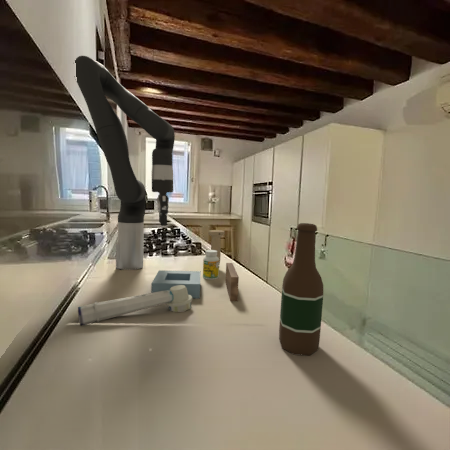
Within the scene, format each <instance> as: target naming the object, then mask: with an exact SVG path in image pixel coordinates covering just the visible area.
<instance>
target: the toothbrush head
mask: <svg viewBox="0 0 450 450" xmlns="http://www.w3.org/2000/svg"><path fill="white" fill-rule="evenodd" d="M192 301H193V298H192V296H191V295H188V291H187V288H186V287H185V286H184V285H177V286H173V287H171V288H170V290H165V291H159V292H154V293H151V292H150V293H149V292H148V293H143V294H138V295H132V296H127V297H121V298H116V299H111V300H110V299H109V300H104V301H96V300H95V301H94V302H93V303H90V304H86V305H81V306H78V307H77V313H78V321H79V325H80V326H84V325H88V324H91V323H95V322H97V323H100V321H105V320H109V319H113V318H116V317H120V316H123V315H124V316H125V315H128V314H131V313H135V312H140V311H142V310H146V309H150V308H155V307H157V306H161V305H165V304H166V306H167V307H168V310H169V311H171V312H176V313H178V312H179V313H182V312H186V311H188V310H191V308H192Z"/></svg>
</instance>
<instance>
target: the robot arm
mask: <svg viewBox="0 0 450 450" xmlns="http://www.w3.org/2000/svg"><path fill="white" fill-rule="evenodd" d="M75 59H76V60H75ZM75 59H74V61H75V63H76V77H77V81H76V83H77V85H78V88H79V90H80V92H81V94H82V96H83V99H84V101H85V104H86V106H87V109H88V112H89V114H90V117H91V121H92V124H93V126H94V130H95V133H96V136H97V139H98V142H99V144H100V146H101V149H102V152H103V155H104V157H105V159H106V160H105V161H106V162H107V164H108V167H109V170H110V174H111V179H112V182H113V183H112V184H113V187H114V192H115V194H116V197H117V198H118V200H119V201H120V210H119V212H118V214H117V242H115V269H118V270H123V271H124V270H128V271H129V270H130V271H131V270H139V269H142V268H143V267H144V238H145V237H144V232H145V231H144V228H145V227H144V226H145V222H144V221H145V216H146V215H145V214H146V199H147V197H146V196H147V195H146V194H147V192H146V187H145V185H144V184H143V182H142V181H140V180H138V179H137V177H136V174H135V172H134V170H133V167H132V164H131V161H130V152H129V144H128V139H127V135H126V133H125V129H124V126H123V124H122V121H121V120H120V118H119V116H118V114H117V112H116V111H115V110H114V108H113V107H112V104H110V102H109V101H108V99H110V101H113V102H114V103H115V104H116V105H117V106H118V108H119V109H120V111H122V112H123V113H124V114H125V115H126V116H127V117H128V118H129V119H130V120H132V121H133V122H135V123H136V124H137V125H138V126H140V127H141V128H142V129H143V130H144V131H145V132H146V133H147V134H148V135H149V136H150V137H152V138H153V139H155V148H154V149H152V153H151V162H152V163H151V165H152V166H151V192H152V193H158V195H157V197H156V202H157V211H158V222H159V224H160V227H166V226H167V225H168V215H169V214H168V213H169V208H170V207H169V204H170V203H169V202H170V201H169V199H170V198H169V196H168V195H167V194H168V193H173V192H174V169H173V151H174V147H175V146H174V145H175V137H176V136H175V134H176V133H175V129H174V127H173V125H171V124H170V123H169V122H168V121H167V120H165V119H164V118H163V117H162V116H159V115H158V114H157V113H155V112H154V111H153V110H152V108H150V107H149V106H148V105H147V104H145V102H143V101H142V100H140V99H139V98H138V97H137V96H135V95H134V94H133V93H132V92H131V91H129V90H128V89H126V87H124V86H123V85H122V84H121V83H120V82H118V81H117V79H116V78H115V76H113V75H112V73H111V72H110V71H109V70H108V69H107V68H106V67H105V65H104V64H102V63H100V62H99V61H97V60H95V59H94V58H92V57H90V56H88V55H87V56H86V55H79V56H77V57H76V58H75ZM107 98H108V99H107Z"/></svg>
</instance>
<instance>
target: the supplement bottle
mask: <svg viewBox="0 0 450 450" xmlns="http://www.w3.org/2000/svg"><path fill="white" fill-rule="evenodd" d="M204 255H205V256H204V257H203V259H202V261H203V262H202V277H203V279H205V280H217V279H219V271H220V270H219V269H220V264H219V258H218V257H217V251H216V250H211V249H206V250H205V254H204Z"/></svg>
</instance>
